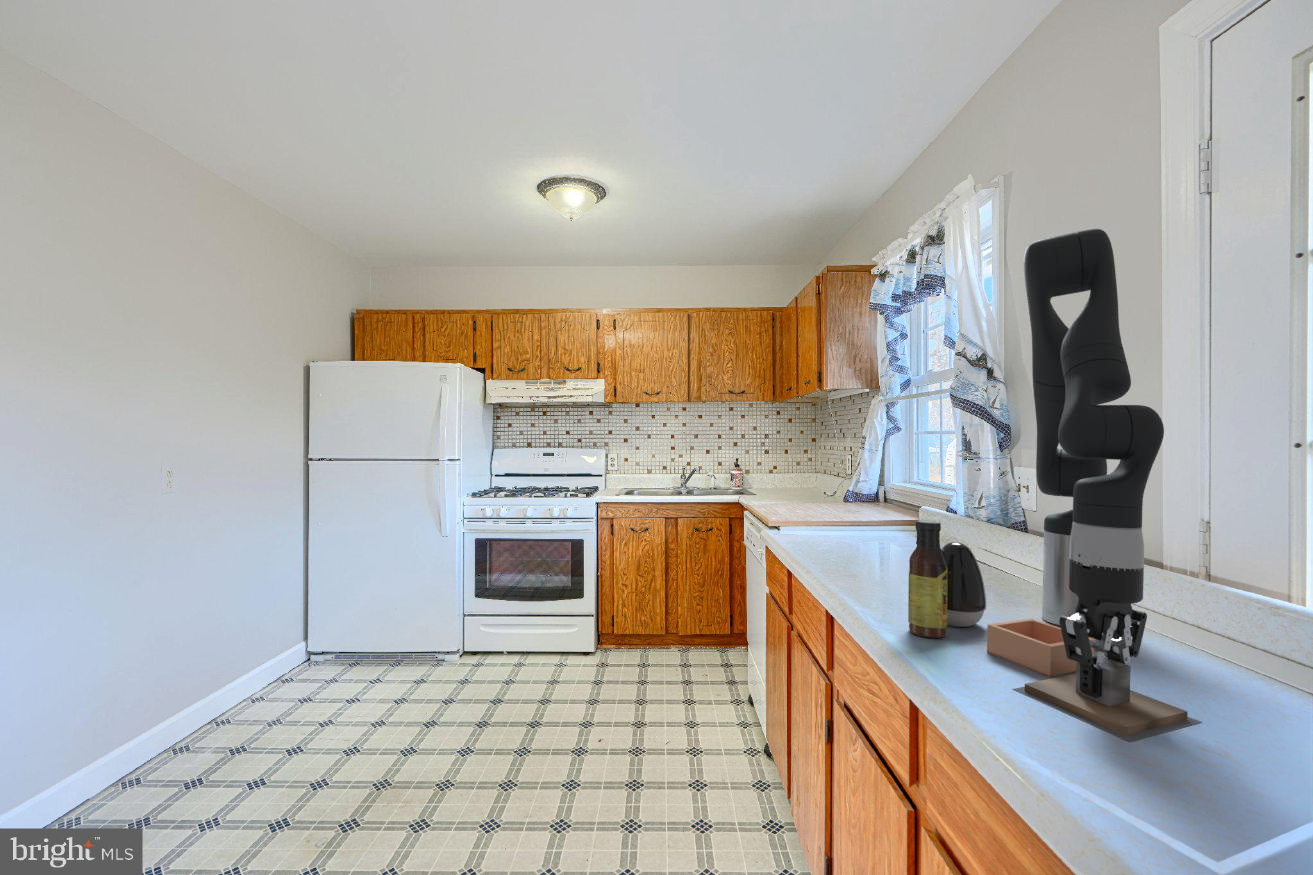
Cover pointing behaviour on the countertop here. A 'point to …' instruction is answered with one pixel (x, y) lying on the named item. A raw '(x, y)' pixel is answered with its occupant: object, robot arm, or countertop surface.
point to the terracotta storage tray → (1031, 646)
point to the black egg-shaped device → (963, 586)
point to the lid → (1108, 700)
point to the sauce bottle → (927, 583)
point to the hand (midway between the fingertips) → (1102, 691)
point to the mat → (1127, 738)
